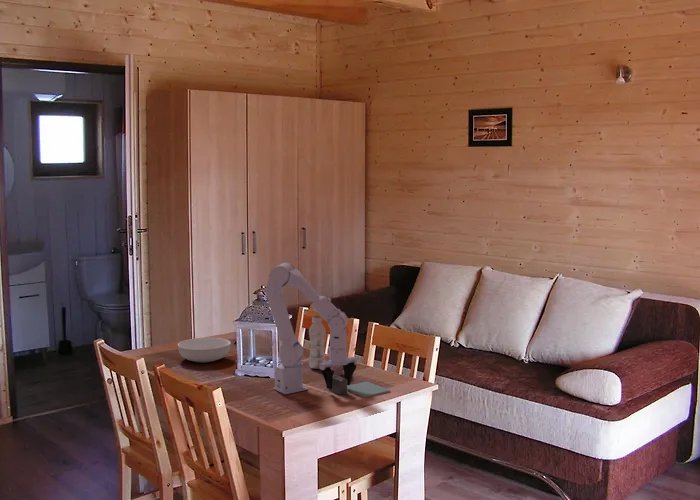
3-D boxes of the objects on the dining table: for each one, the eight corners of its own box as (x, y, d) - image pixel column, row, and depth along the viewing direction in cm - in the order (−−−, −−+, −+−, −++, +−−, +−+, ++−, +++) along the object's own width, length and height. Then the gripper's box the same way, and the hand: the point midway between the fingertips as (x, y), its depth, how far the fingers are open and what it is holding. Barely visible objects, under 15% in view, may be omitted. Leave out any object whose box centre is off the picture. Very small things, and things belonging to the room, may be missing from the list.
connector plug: (341, 395, 262) (341, 381, 261) (323, 388, 271) (323, 374, 270) (349, 394, 264) (349, 380, 263) (331, 386, 272) (331, 373, 272)
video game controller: (336, 384, 280) (345, 368, 279) (325, 378, 281) (334, 362, 279) (342, 377, 290) (350, 361, 288) (331, 371, 290) (339, 355, 289)
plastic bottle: (305, 369, 294) (305, 318, 292) (313, 365, 300) (313, 314, 298) (321, 371, 292) (321, 319, 289) (328, 367, 298) (328, 316, 295)
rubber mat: (364, 397, 260) (364, 396, 260) (342, 388, 270) (342, 386, 270) (390, 391, 267) (390, 390, 266) (367, 383, 277) (367, 381, 277)
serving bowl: (241, 357, 311) (241, 341, 311) (205, 369, 294) (205, 352, 293) (203, 350, 322) (203, 334, 322) (166, 362, 305) (166, 344, 304)
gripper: (327, 353, 257) (327, 393, 259) (362, 347, 266) (362, 385, 267) (315, 349, 263) (315, 388, 264) (349, 343, 271) (350, 380, 273)
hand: (338, 386), depth 266 cm, fingers open, 7 cm apart
